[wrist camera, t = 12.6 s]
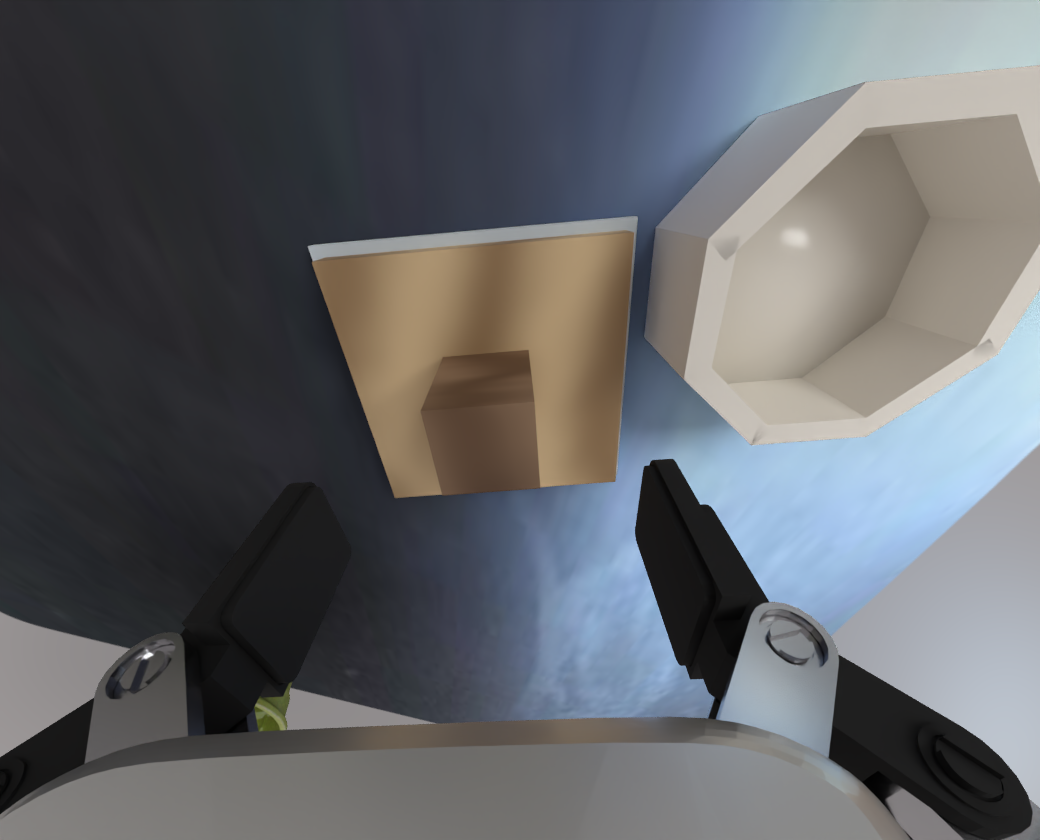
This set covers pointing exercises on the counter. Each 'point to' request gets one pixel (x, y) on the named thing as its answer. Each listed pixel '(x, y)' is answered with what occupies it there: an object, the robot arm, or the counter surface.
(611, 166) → the counter surface
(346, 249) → the mat
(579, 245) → the lid
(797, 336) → the bowl
